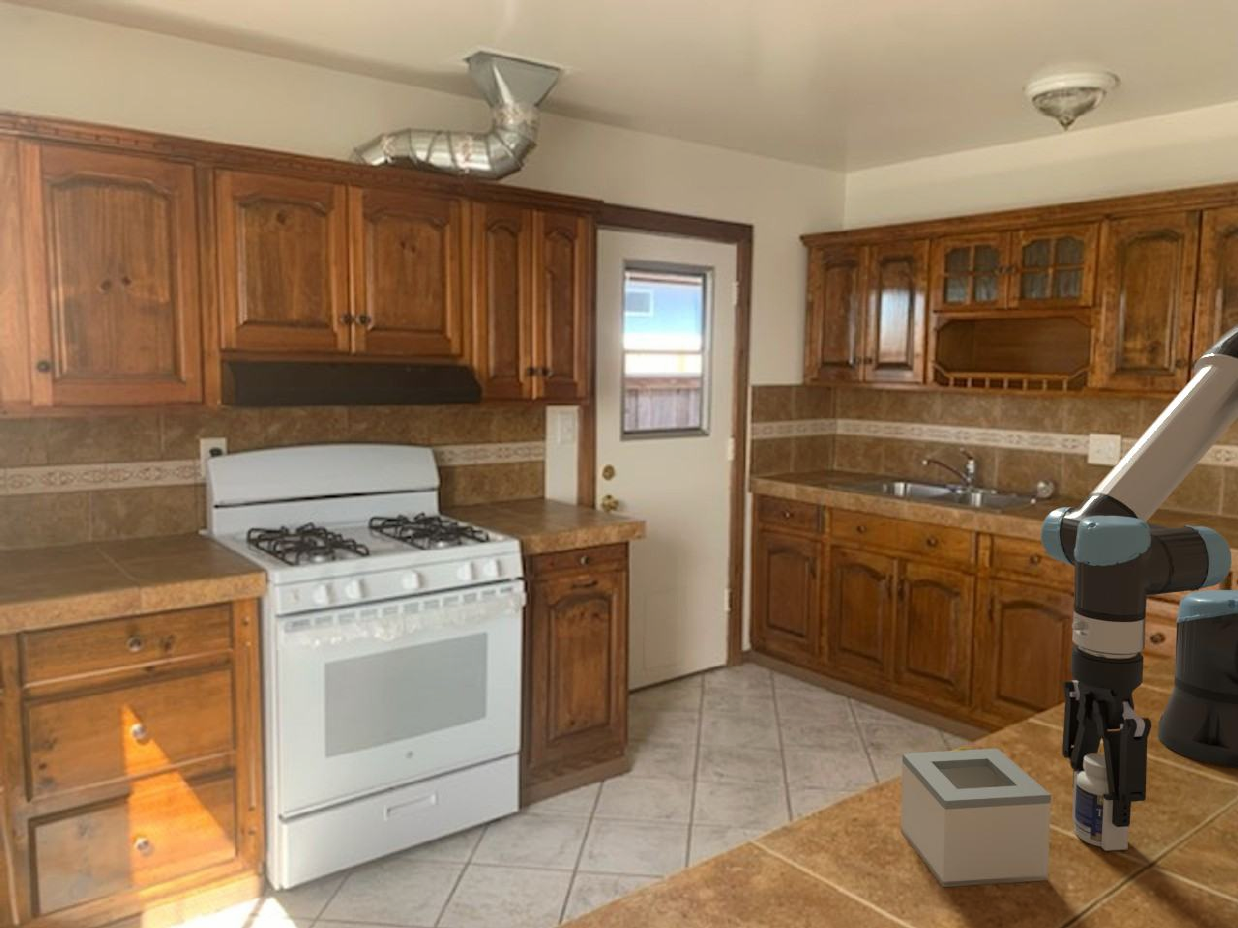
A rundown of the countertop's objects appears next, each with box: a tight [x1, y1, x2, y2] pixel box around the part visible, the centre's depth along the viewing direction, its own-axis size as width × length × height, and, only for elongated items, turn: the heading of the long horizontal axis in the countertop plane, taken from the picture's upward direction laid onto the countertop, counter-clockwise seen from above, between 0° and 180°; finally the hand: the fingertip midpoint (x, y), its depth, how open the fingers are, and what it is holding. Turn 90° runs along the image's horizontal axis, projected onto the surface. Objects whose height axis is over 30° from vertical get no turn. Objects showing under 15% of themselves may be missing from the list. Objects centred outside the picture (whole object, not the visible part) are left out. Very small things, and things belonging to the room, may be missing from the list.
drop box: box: [900, 748, 1052, 888], centre depth 107 cm, size 12×12×10 cm
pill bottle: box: [1073, 752, 1109, 847], centre depth 110 cm, size 5×5×10 cm
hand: (1098, 834), depth 111 cm, fingers open, 5 cm apart
